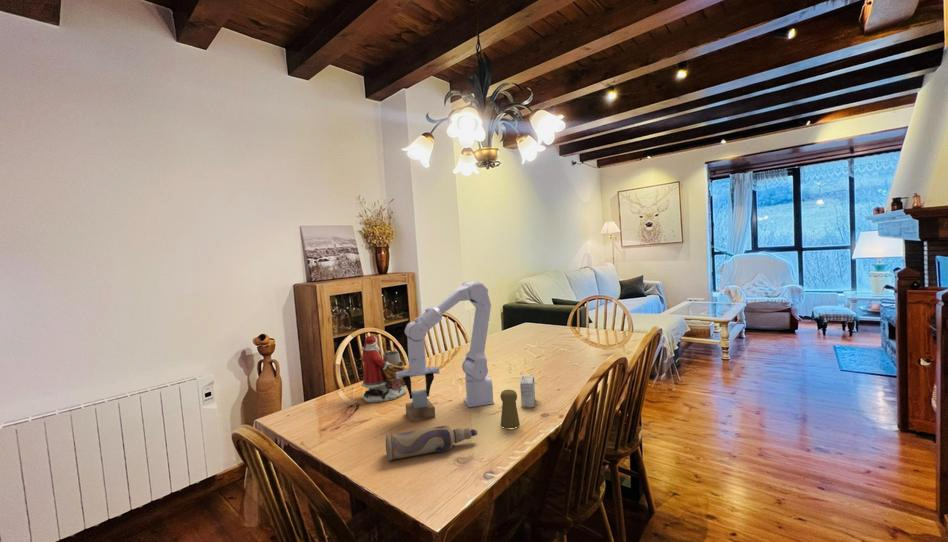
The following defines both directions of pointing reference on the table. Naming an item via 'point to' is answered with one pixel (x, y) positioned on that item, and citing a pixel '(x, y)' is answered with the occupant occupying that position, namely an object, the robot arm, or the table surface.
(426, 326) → the robot arm
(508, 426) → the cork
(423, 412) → the walnut block
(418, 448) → the decorative bottle
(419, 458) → the table surface
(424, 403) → the slate cube
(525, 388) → the medicine box
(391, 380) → the santa figurine
